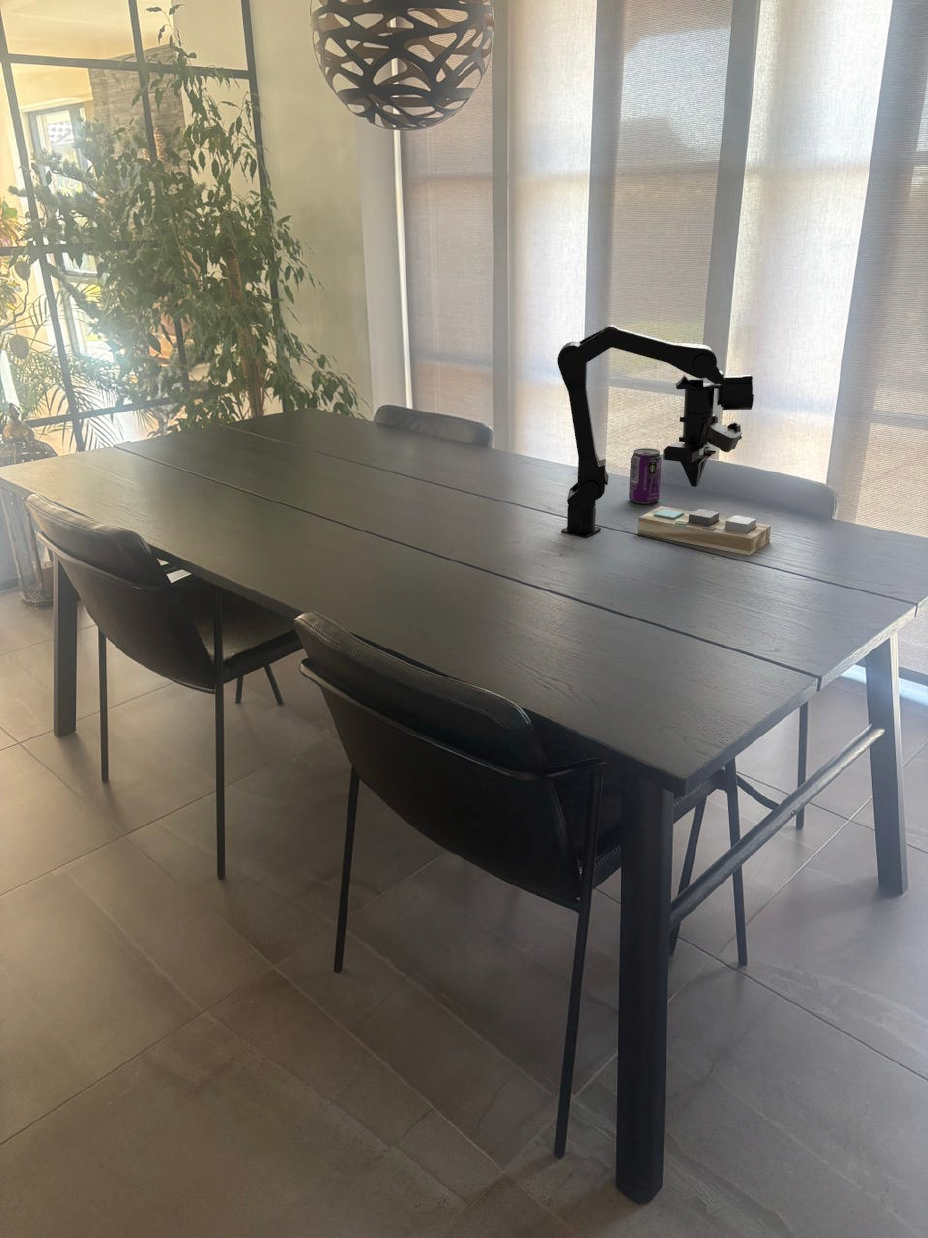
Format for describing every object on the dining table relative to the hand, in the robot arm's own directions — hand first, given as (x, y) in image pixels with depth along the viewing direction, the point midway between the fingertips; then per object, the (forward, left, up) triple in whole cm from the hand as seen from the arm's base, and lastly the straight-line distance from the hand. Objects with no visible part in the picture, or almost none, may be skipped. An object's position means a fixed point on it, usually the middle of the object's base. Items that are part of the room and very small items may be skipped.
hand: (694, 486), depth 193 cm
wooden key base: (0, -3, -11) cm, 11 cm away
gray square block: (0, -3, -8) cm, 9 cm away
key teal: (0, +5, -10) cm, 11 cm away
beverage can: (+17, +20, -11) cm, 28 cm away
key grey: (0, -11, -8) cm, 14 cm away
